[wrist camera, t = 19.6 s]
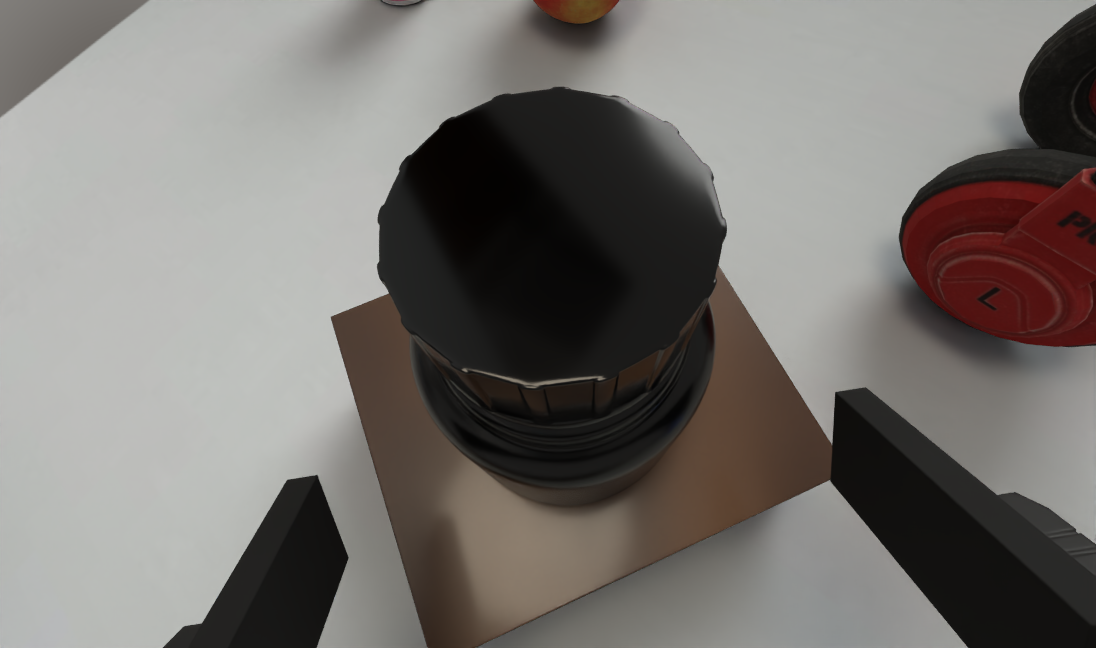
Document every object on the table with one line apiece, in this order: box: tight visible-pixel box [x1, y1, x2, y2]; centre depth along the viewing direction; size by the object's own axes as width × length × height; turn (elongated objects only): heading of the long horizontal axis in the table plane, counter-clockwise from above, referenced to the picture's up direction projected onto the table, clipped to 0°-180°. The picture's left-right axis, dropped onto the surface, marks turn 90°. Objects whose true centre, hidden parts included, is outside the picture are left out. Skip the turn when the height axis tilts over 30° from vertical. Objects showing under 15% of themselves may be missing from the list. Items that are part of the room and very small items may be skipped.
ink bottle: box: [377, 87, 727, 506], centre depth 16 cm, size 10×9×12 cm
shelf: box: [331, 266, 832, 648], centre depth 25 cm, size 16×14×6 cm
